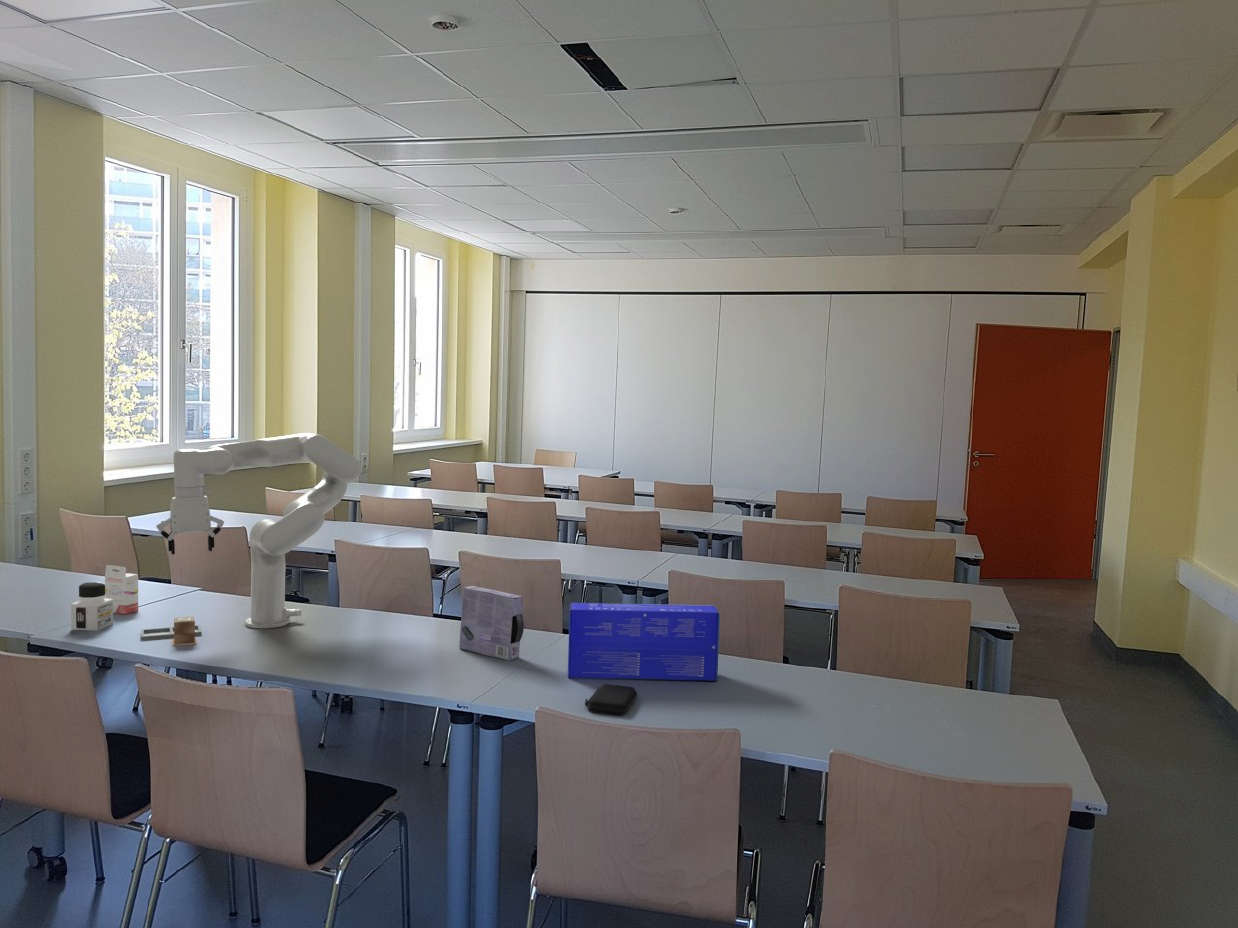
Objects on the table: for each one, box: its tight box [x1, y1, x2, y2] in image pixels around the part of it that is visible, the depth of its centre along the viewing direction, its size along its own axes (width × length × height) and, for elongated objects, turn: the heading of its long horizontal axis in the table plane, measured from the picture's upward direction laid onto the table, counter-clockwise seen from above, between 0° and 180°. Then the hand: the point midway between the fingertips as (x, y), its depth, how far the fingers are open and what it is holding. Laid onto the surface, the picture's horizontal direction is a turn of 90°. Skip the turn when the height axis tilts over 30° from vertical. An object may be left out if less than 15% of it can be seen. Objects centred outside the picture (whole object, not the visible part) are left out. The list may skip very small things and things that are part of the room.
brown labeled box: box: [173, 616, 196, 644], centre depth 241 cm, size 5×5×6 cm
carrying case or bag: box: [584, 683, 638, 716], centre depth 208 cm, size 11×3×15 cm
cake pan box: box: [458, 585, 525, 662], centre depth 243 cm, size 19×5×18 cm, turn 59°
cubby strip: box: [140, 624, 202, 641], centre depth 249 cm, size 15×8×1 cm, turn 118°
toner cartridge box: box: [567, 602, 721, 682], centre depth 229 cm, size 39×8×18 cm, turn 92°
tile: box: [171, 636, 198, 647], centre depth 242 cm, size 6×6×1 cm
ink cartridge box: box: [104, 564, 139, 615], centre depth 271 cm, size 9×5×15 cm, turn 73°
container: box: [70, 581, 114, 631], centre depth 253 cm, size 8×8×13 cm
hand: (191, 551), depth 250 cm, fingers open, 9 cm apart
